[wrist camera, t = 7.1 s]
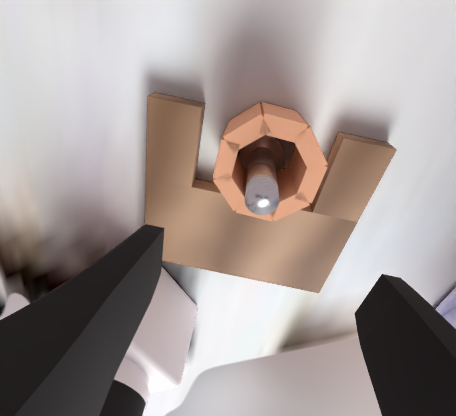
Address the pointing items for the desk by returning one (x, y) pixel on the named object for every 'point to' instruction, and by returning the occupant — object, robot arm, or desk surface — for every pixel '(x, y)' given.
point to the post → (262, 174)
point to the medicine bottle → (154, 351)
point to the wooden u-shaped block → (246, 225)
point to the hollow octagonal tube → (287, 178)
